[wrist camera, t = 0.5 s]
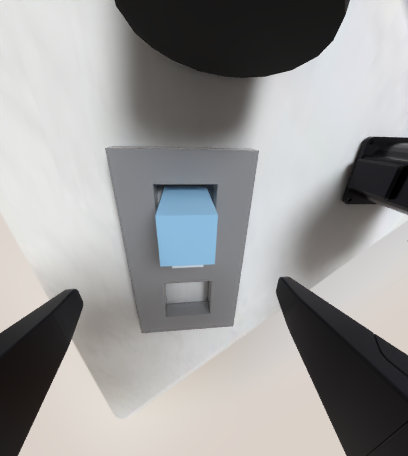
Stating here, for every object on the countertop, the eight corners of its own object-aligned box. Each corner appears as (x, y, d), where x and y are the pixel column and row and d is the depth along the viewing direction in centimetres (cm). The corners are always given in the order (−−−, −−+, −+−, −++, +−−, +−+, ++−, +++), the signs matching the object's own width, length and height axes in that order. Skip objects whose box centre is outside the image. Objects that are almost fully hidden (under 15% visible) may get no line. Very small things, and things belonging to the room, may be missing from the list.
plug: (206, 186, 18) (217, 214, 12) (204, 228, 21) (214, 270, 14) (164, 186, 18) (155, 215, 12) (167, 229, 20) (161, 272, 14)
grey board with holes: (251, 148, 17) (258, 150, 15) (229, 313, 27) (233, 326, 26) (113, 146, 16) (105, 148, 14) (144, 319, 26) (141, 333, 24)
